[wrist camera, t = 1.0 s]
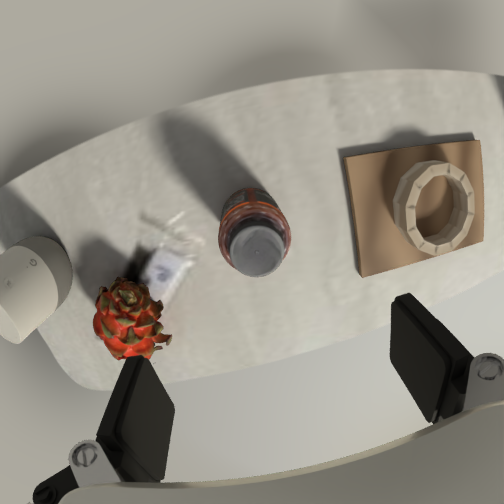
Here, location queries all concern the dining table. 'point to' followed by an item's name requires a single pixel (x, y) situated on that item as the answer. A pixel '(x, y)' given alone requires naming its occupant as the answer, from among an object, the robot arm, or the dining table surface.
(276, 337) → the dining table surface
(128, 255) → the dining table surface
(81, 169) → the dining table surface
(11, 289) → the smart speaker
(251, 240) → the supplement bottle
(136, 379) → the robot arm
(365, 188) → the socket board
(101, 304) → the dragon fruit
